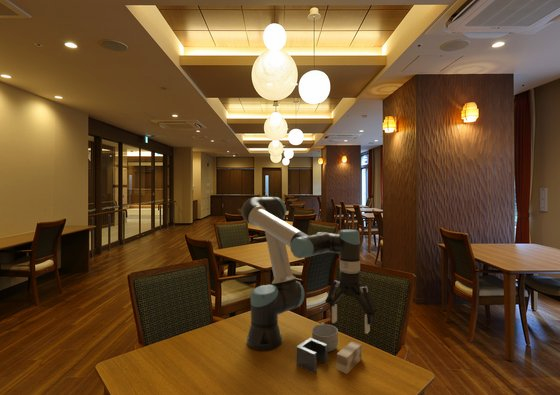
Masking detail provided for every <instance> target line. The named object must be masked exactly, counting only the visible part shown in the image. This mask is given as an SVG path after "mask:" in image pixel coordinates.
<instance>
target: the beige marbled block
mask: <svg viewBox="0 0 560 395" xmlns="http://www.w3.org/2000/svg"><path fill="white" fill-rule="evenodd" d="M360 361H362V343H358V342H355V341H353V340H351V342H349V343H348V344H347V345H346V346H345V347H343V348H342V349H341V350H340V351H338V352H337V353H336V370H337V371H339V372H342V373H344V374H346V375H347V374H348V373H350V371H352V369H353V368H355V366H356V365H357V364H358V363H359V362H360Z"/></svg>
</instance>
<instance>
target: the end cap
mask: <svg viewBox="0 0 560 395" xmlns="http://www.w3.org/2000/svg"><path fill="white" fill-rule="evenodd" d="M295 350H296V360H295V361H296V365H295V366H298V367H300V368H302V369H305V371H308V372H310V373H312V374H315V373H316V372H317V362H319V363H322V364H324V365H326V364H327V363H328V352H327V344H325V343H323V342H320V341H318V340H315V339H313V338H312V337H309V338H308V339H306V340H304V341H303V342H301V343H299V344H298V345H297V346H296V348H295Z"/></svg>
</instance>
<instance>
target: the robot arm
mask: <svg viewBox="0 0 560 395" xmlns="http://www.w3.org/2000/svg"><path fill="white" fill-rule="evenodd" d="M286 213H287V206H286V204H285V202H284V200H283V199H282V198H280V197H278V196H259V197H257V196H254V197H251V198H250V197H249V198H248V199H247V200H246V201H245V202H243V205H242V207H241V216H242V217H243V219H244V220H245V222H246V223H247V224H249V225H251V226H253V227H258V228H260V229H261V230H263V231H264V234H265V238H266V243H267V249H268V252H269V253H268V254H269V258H270V264H271V269H272V273H273V280H272V281H271V284H266V285H265V284H263V285H259V286H257V287H255V288H254V289H253V290H252V291H251V294H250V295H251V296H250V326H249V330H248V334H247V337H246V344H247V346H248V347H249V348H251V349H252V350H255V351H259V352H260V351H264V352H265V351H272V350H275V349H277V348H279V347H280V346H281V345H282V343H283V342H282V341H283V338H282V337H283V335H282V333H281V331H280V330H281V329H280V327H279V322H278V321H279V319H278V318H279V315H280V314H283V313H285V312H289V311H291V310H294V309H297V308H298V307H300V306H301V305H302V304H303V302H304V300H305V289H304V287H303V285H302V284H301V283H300V281H297V277H296V276H294V275H293V273H292V268H291V265H290V264H291V263H290V259H289V255H288V249H287V246H288V247H289V248H290V252H291V254H292V255H293V256H294V257H295V258H298V259H302V258H303V259H304V258H309V257H313V256H317V255H322V254H326V253H332V254H333V253H334V254H339V270H340V271H339V280H338V279H336V280H333V281H332V285H331V288H330V290H329V292H328V294H327V296H326V299H325V303H326V304H328V305H329V312H330V314H331V323H332V324H335V323H336V322H338V304H336V303H337V302H338V301H339V300H340V298H342V297H343V295H344V296H347V297H348V296H349V297H351V298H354V299H355V300H356V301H357V302H358V304H359V305H360V307H361V309H362V310H363V312H365V314H364V334H366V335H367V334H368V333H369V332H370V331H371V327H370V326H371V325H372V324H373V316H376V315H377V314H378V310H377V307H376V304H375V303H374V300H373V298H372V296H371V294H370V289H369V286H367V285H365V286H361V272H360V271H361V258H360V257H361V237H360V236H361V235H360V232H359V230H357V229H347V228H346V229H341V230H339V233H333V232H327V231H319V232H316V233H315V234H312V235H309V234H306V233H305V232H303V231H301V230H299V229H298V228H296V227H294V226H293V225H291V224H290V223H287V222H286V221H284V218H285V217H286ZM338 287H339V288H340V291H338V293H337V294H336V291H337V290H338ZM335 294H336V295H335ZM362 294H363V295H362ZM334 295H335V296H334ZM333 297H334V298H333Z"/></svg>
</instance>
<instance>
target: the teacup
mask: <svg viewBox="0 0 560 395" xmlns="http://www.w3.org/2000/svg"><path fill="white" fill-rule="evenodd" d="M311 333H312V334H311V336H312V337H311V338H312V339H315V340H318V341H320V342H323V343H325V344H327V353H329V352H332V351H334V350H335V349H336V348H337V347H338V343H339V334H338V333H339V329H338V328H337V327H336V326H334V325H332V324H327V323H325V322H320V324H316V325H315V326H313V327H312V328H311Z"/></svg>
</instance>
